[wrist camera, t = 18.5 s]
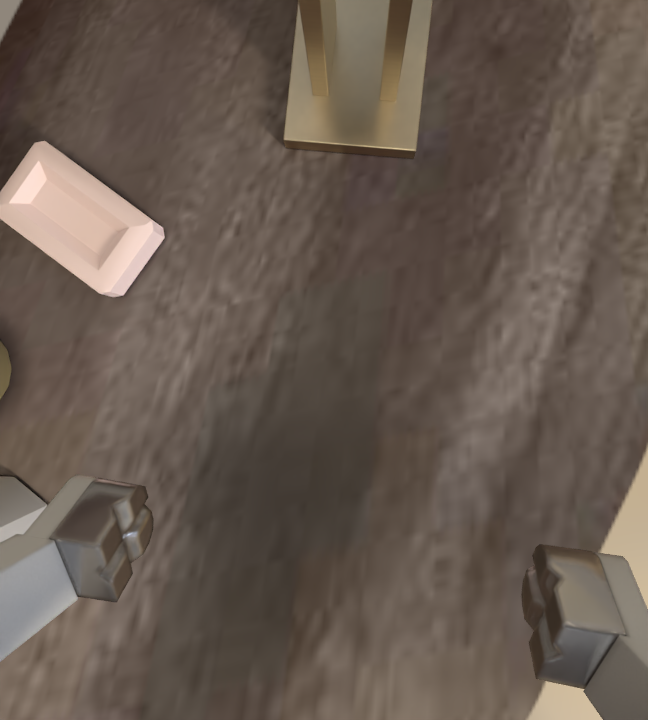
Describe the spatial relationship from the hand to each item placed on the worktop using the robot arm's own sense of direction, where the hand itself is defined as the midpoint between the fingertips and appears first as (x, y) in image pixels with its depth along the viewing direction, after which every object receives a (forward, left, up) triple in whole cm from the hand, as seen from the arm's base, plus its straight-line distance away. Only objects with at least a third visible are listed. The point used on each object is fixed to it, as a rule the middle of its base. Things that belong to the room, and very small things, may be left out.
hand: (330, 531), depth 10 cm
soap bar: (+18, -10, -21) cm, 29 cm away
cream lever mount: (+2, -21, -20) cm, 29 cm away
